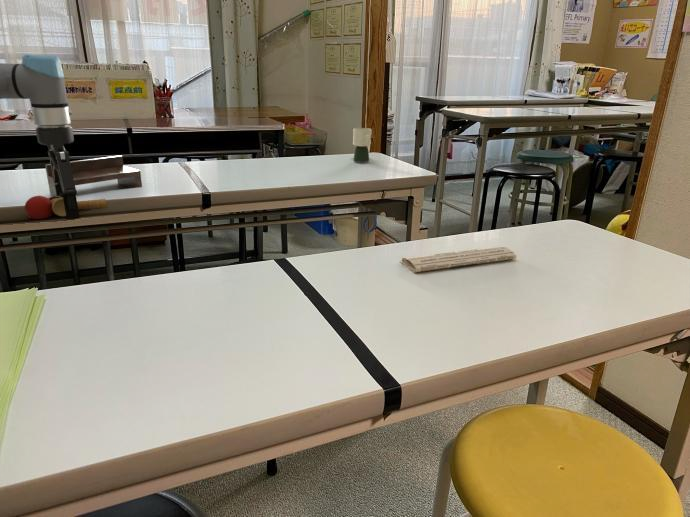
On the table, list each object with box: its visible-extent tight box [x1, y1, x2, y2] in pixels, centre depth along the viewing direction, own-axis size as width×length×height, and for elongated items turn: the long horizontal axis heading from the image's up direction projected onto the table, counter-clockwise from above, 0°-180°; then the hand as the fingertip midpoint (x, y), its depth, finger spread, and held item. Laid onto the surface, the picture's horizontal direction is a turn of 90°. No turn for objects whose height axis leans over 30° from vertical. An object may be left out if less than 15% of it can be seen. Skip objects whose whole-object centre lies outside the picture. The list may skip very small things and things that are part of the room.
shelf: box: [44, 155, 143, 196], centre depth 149 cm, size 22×11×8 cm, turn 140°
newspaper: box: [399, 245, 517, 273], centre depth 105 cm, size 24×7×2 cm, turn 112°
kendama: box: [24, 195, 108, 220], centre depth 126 cm, size 8×6×18 cm
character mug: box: [352, 127, 372, 163], centre depth 203 cm, size 11×7×13 cm, turn 27°
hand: (69, 215), depth 127 cm, fingers open, 12 cm apart
